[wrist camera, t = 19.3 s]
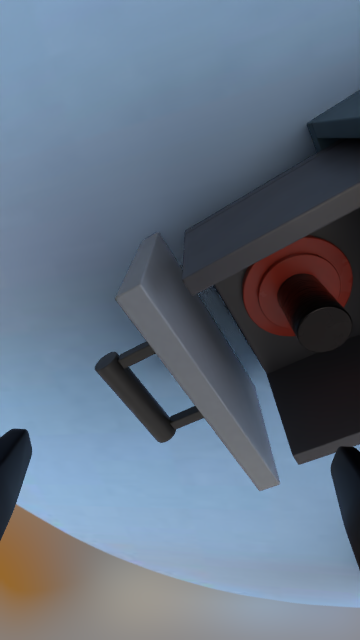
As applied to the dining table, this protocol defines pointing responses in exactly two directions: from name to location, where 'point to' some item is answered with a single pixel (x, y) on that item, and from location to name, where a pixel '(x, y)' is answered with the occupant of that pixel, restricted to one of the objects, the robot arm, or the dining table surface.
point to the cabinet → (336, 123)
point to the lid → (302, 293)
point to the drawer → (248, 320)
